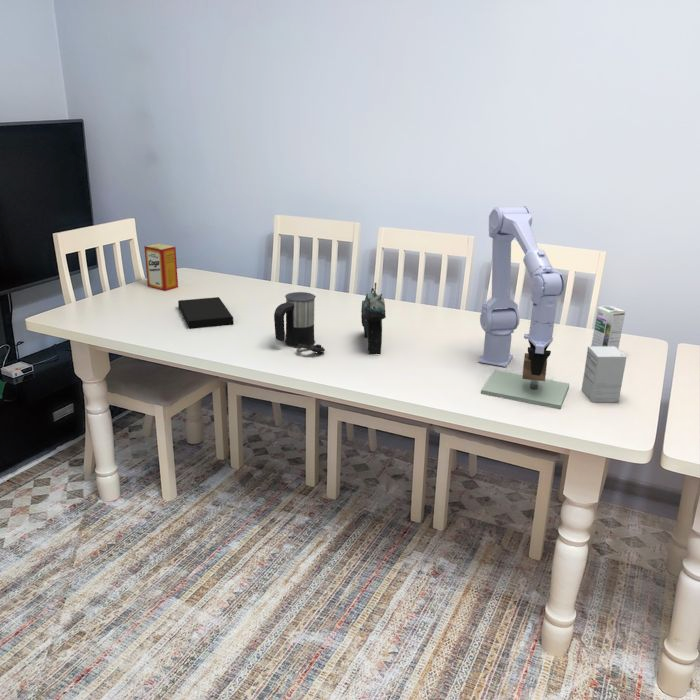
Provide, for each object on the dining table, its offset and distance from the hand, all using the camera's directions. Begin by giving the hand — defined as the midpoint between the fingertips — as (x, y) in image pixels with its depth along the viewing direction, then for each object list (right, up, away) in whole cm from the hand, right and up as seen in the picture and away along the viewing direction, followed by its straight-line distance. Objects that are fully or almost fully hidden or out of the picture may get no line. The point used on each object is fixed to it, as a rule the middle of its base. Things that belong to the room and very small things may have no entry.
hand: (536, 370), depth 177 cm
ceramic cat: (-42, +7, +32) cm, 53 cm away
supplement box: (+16, -7, +1) cm, 18 cm away
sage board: (-2, -5, +3) cm, 6 cm away
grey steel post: (0, -6, +2) cm, 6 cm away
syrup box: (+28, +4, +29) cm, 40 cm away
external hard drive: (-96, +16, +54) cm, 111 cm away
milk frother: (-61, +6, +29) cm, 68 cm away
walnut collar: (0, -2, +1) cm, 2 cm away
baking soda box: (-119, +29, +84) cm, 149 cm away
